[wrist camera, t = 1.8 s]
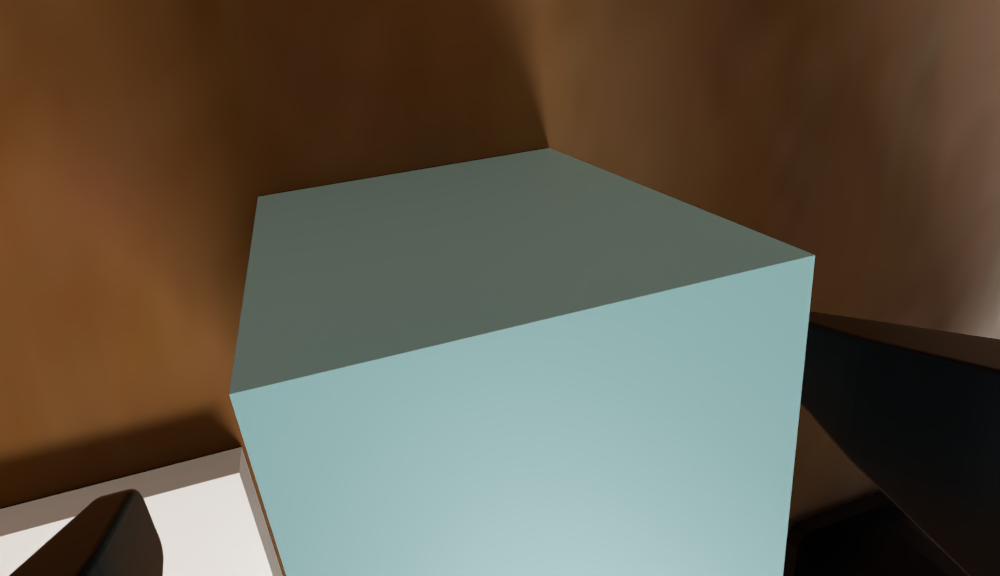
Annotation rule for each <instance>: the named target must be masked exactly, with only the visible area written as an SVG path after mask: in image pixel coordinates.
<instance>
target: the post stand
mask: <svg viewBox="0 0 1000 576" xmlns="http://www.w3.org/2000/svg"><path fill="white" fill-rule="evenodd" d="M127 489H135V490H137V491H139V492H140V494H141V495H142V497H143V499H144V501H145V503H146V506H147V508H148V511H149V513H150V516H151V518H152V521H153V523H154V525H155V528H156V530H157V533H158V535H159V538H160V541H161V544H162V549H163V576H283V575H282V572H281V569H280V566H279V563H278V559H277V556H276V553H275V550H274V547H273V544H272V541H271V537H270V534H269V531H268V528H267V525H266V522H265V519H264V515H263V512H262V509H261V506H260V503H259V500H258V497H257V493H256V490H255V487H254V484H253V481H252V478H251V475H250V471H249V468H248V465H247V462H246V459H245V456H244V453H243V449H242V447H239V448H236V449H232V450H228V451H224V452H220V453H216V454H212V455H208V456H205V457H201V458H197V459H193V460H189V461H185V462H181V463H177V464H174V465H170V466H166V467H162V468H158V469H154V470H150V471H146V472H143V473H139V474H135V475H131V476H127V477H123V478H119V479H115V480H112V481H108V482H104V483H100V484H96V485H92V486H88V487H84V488H81V489H77V490H73V491H69V492H65V493H61V494H57V495H53V496H50V497H46V498H42V499H38V500H34V501H30V502H26V503H23V504H19V505H15V506H11V507H7V508H3V509H0V576H9V575H10V574H11V573H13V572H14V571H15V570H16V569H17V568H18V567H19V566H20V565H22V564H23V563H24V562H25V561H26V560H27V559H28V558H29V557H31V556H32V555H33V554H34V553H35V552H36V551H37V550H38V549H40V548H41V547H42V546H43V545H44V544H45V543H46V542H47V541H49V540H50V539H51V538H52V537H53V536H54V535H55V534H56V533H58V532H59V531H60V530H61V529H62V528H63V527H64V526H65V525H67V524H68V523H69V522H70V521H71V520H72V519H73V518H74V517H76V516H77V515H78V514H79V513H80V512H81V511H82V510H83V509H85V508H86V507H87V506H88V505H89V504H90V503H91V502H92V501H94V500H95V499H96V498H98V497H100V496H104V495H108V494H112V493H115V492H119V491H123V490H127Z"/></svg>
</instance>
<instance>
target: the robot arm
mask: <svg viewBox="0 0 1000 576" xmlns="http://www.w3.org/2000/svg"><path fill="white" fill-rule="evenodd" d="M800 403H801V404H802V405H803V406H804V407H805V408H806V410H807V411H808V412H809V413H810V414H811V415H812V417H813V418H814V419H815V420H816V421H817V422H818V424H819V425H820V426H821V427H822V428H823V429H824V431H825V432H826V433H827V434H828V435H829V437H830V438H831V439H832V440H833V441H834V442H835V444H836V445H837V446H838V447H839V448H840V449H841V450H842V451H843V453H844V454H845V455H846V456H847V457H848V458H849V459H850V460H851V461H852V462H853V463H854V464H855V465H856V466H857V467H858V468H859V469H860V470H861V471H862V472H863V473H864V474H865V475H866V476H867V477H868V478H869V479H870V480H871V481H872V482H873V483H874V484H875V485H876V486H877V487H878V488H879V489H880V490H881V491H882V492H881V493H878V494H875V495H872V496H870V497H867V498H864V499H861V500H858V501H856V502H853V503H850V504H847V505H845V506H842V507H839V508H836V509H833V510H831V511H828V512H825V513H822V514H819V515H817V516H814V517H811V518H808V519H806V520H803V521H801V522H799V523H797V524H796V525H795V526H794V527H793V528H792V529H791V530H790V532H789V533H788V536H787V541H786V551H785V561H784V571H783V576H1000V339H993V338H986V337H979V336H973V335H966V334H959V333H952V332H946V331H939V330H932V329H925V328H919V327H912V326H905V325H898V324H891V323H885V322H878V321H871V320H864V319H858V318H851V317H844V316H837V315H831V314H824V313H817V312H810V313H809V323H808V333H807V342H806V352H805V362H804V372H803V382H802V392H801V402H800ZM9 576H163V549H162V544H161V541H160V538H159V535H158V533H157V530H156V528H155V525H154V523H153V521H152V518H151V516H150V513H149V511H148V508H147V506H146V503H145V501H144V499H143V497H142V495H141V494H140V492H139V491H137V490H135V489H127V490H123V491H119V492H115V493H112V494H108V495H104V496H100V497H98V498H96V499H95V500H94V501H92V502H91V503H90V504H89V505H88V506H87V507H86V508H85V509H83V510H82V511H81V512H80V513H79V514H78V515H77V516H76V517H74V518H73V519H72V520H71V521H70V522H69V523H68V524H67V525H65V526H64V527H63V528H62V529H61V530H60V531H59V532H58V533H56V534H55V535H54V536H53V537H52V538H51V539H50V540H49V541H47V542H46V543H45V544H44V545H43V546H42V547H41V548H40V549H38V550H37V551H36V552H35V553H34V554H33V555H32V556H31V557H29V558H28V559H27V560H26V561H25V562H24V563H23V564H22V565H20V566H19V567H18V568H17V569H16V570H15V571H14V572H13V573H11V574H10V575H9Z"/></svg>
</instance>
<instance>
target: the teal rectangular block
mask: <svg viewBox="0 0 1000 576" xmlns="http://www.w3.org/2000/svg"><path fill="white" fill-rule="evenodd" d="M814 263H815V255H814V254H811V253H809V252H806V251H804V250H801V249H799V248H796V247H794V246H792V245H789V244H787V243H784V242H782V241H779V240H777V239H774V238H772V237H769V236H767V235H764V234H762V233H759V232H757V231H754V230H752V229H749V228H747V227H744V226H742V225H739V224H737V223H735V222H732V221H730V220H727V219H725V218H722V217H720V216H717V215H715V214H712V213H710V212H707V211H705V210H702V209H700V208H697V207H695V206H692V205H690V204H687V203H685V202H683V201H680V200H678V199H675V198H673V197H670V196H668V195H665V194H663V193H660V192H658V191H655V190H653V189H650V188H648V187H645V186H643V185H640V184H638V183H635V182H633V181H631V180H628V179H626V178H623V177H621V176H618V175H616V174H613V173H611V172H608V171H606V170H603V169H601V168H598V167H596V166H593V165H591V164H588V163H586V162H583V161H581V160H579V159H576V158H574V157H571V156H569V155H566V154H564V153H561V152H559V151H556V150H554V149H551V148H546V149H540V150H534V151H528V152H522V153H516V154H510V155H504V156H498V157H493V158H487V159H481V160H475V161H469V162H463V163H457V164H451V165H445V166H439V167H433V168H427V169H421V170H415V171H409V172H403V173H397V174H391V175H385V176H379V177H373V178H367V179H361V180H355V181H349V182H343V183H337V184H331V185H325V186H319V187H313V188H307V189H301V190H295V191H289V192H283V193H277V194H271V195H265V196H259V197H258V200H257V207H256V214H255V221H254V228H253V235H252V241H251V248H250V255H249V262H248V269H247V276H246V283H245V289H244V296H243V303H242V310H241V317H240V324H239V331H238V338H237V344H236V351H235V358H234V365H233V372H232V379H231V386H230V393H229V395H230V399H231V402H232V405H233V408H234V411H235V414H236V418H237V421H238V424H239V427H240V430H241V433H242V437H243V440H244V443H245V446H246V449H247V452H248V456H249V459H250V462H251V465H252V468H253V471H254V475H255V478H256V481H257V484H258V487H259V491H260V494H261V497H262V500H263V503H264V506H265V510H266V513H267V516H268V519H269V522H270V525H271V529H272V532H273V535H274V538H275V541H276V544H277V548H278V551H279V554H280V557H281V560H282V563H283V567H284V570H285V573H286V576H783V571H784V561H785V551H786V541H787V531H788V521H789V511H790V501H791V491H792V482H793V472H794V462H795V452H796V442H797V432H798V422H799V412H800V402H801V392H802V382H803V372H804V362H805V352H806V342H807V333H808V323H809V313H810V303H811V293H812V283H813V273H814Z"/></svg>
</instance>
